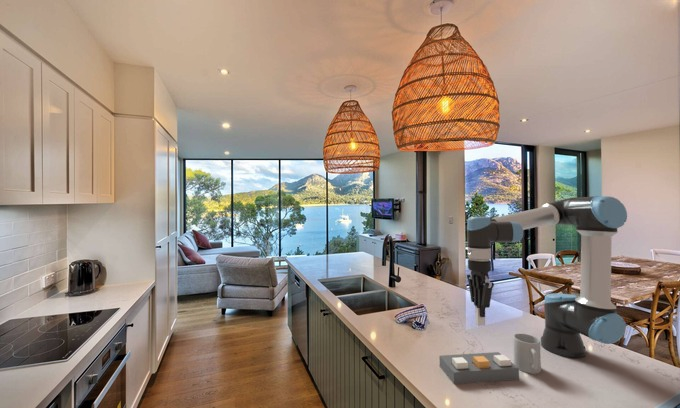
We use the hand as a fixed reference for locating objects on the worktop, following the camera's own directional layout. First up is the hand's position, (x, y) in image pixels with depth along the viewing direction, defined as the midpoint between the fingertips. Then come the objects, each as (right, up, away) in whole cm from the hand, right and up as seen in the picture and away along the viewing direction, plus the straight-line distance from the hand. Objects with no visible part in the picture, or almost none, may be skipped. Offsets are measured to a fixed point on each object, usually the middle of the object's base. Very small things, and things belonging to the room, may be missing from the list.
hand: (480, 324), depth 101 cm
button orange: (0, -15, 0) cm, 15 cm away
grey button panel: (0, -19, +2) cm, 19 cm away
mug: (+20, -19, +3) cm, 27 cm away
